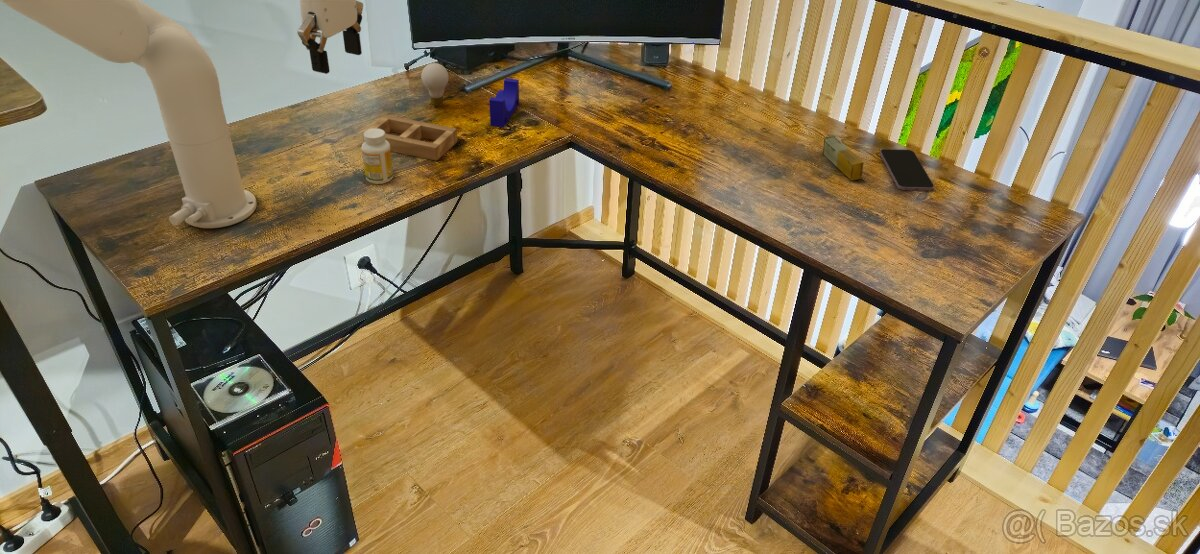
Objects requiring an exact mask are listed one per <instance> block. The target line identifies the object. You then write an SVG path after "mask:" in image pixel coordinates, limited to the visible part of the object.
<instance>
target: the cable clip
mask: <svg viewBox="0 0 1200 554" xmlns="http://www.w3.org/2000/svg"><path fill="white" fill-rule="evenodd" d="M519 80H520V79H517V78H508V77H505V78H504V80H503V89H498V91H497V93H496V95H495V97H492V96H491V97H490V98H489V99H488V101H489V103H488V105H489V123H490V127H491V126H492V127H497V128H498V127H499V128H505V126H506V125H507V124H508V122H509V120H510V119H511V117H512V116H513V115H514V113H515V111H516V110H517V108H519V105H520V84H519V82H520V81H519Z"/></svg>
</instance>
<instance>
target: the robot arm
mask: <svg viewBox="0 0 1200 554" xmlns="http://www.w3.org/2000/svg"><path fill="white" fill-rule="evenodd" d="M0 2H2V3H3V4H5V5H6V6H8V7H9V8H11V9H12V10H14V11H16V12H17V13H19V14H21V15H23V16H25V17H27V18H29V19H30V20H32V21H34V22H36V23H38V24H40V25H42V26H43V27H45V28H46V29H48V30H50V31H52V32H53V33H55V34H57V35H59V36H61V37H63V38H64V39H66V40H68V41H70V42H72V43H73V44H75V45H77V46H79V47H81V48H83V49H85V50H87V51H88V52H90V53H92V54H93V55H95V56H96V57H99V58H101V59H103V60H105V61H107V62H111V63H115V64H130V63H134V64H136V65H138V66H139V67H141V68H143V69H144V70H145V73H146V74H147V76H148V77H149V80H150V82H151V84H152V87H153V90H154V93H155V95H156V99H157V103H158V108H159V110H160V111H159V112H160V116H161V119H162V122H163V126H164V130H165V133H166V137H167V138H168V141H169V142H168V143H169V145H170V147H171V148H170V149H171V152H172V155H173V158H174V161H175V164H176V168H177V172H178V175H179V178H180V182H181V185H182V188H183V191H184V194H185V196H184V197H182V198H181V202H182V205H181V206H180V210H177V211H176V212H174V213H173V214H171V215H170V216H169V217H168V221H169V223H170V224H171V225H173V226H175V227H177V226H179V225H180V224H182V223H184V222H185V223H186V224H187V225H189V226H192V227H195V228H199V229H218V228H225V227H229V226H232V225H235V224H238V223H240V222H243V221H245V220H246V219H248V218H249V217H250V216H252V214H253V213H254V212H255V211H256V209H257V205H258V204H257V199H256V196H255V195H254V193H252V192H250V191H249V190H247V189H244V185H243V180H242V177H241V173H240V169H239V165H238V162H237V157H236V153H235V149H234V145H233V141H232V138H231V134H230V129H229V126H228V122H227V118H226V114H225V110H224V109H225V108H224V105H223V100H222V94H221V87H220V80H219V76H218V73H217V69H216V66H215V64H214V62H213V61H212V59H211V57H210V56H209V54H208V53H207V51H206V50H205V49H204V47H203V46H202V45H201V44H200V43H199V42H198V40H197V39H196V37H195V36H194V35H193V34H192V33H191V32H190V31H189V30H188V29H187V28H186V27H184V26H182V25H181V24H179V23H177V22H176V21H174V20H173V19H170V18H169V17H167V16H166V15H164V14H163V13H161V12H159V11H157V10H156V9H154V8H152V7H151V6H149V5H147V4H146V3H144V2H143V1H141V0H0ZM299 6H300V16H301V17H300V18H301V25H300V26H299V27H298V29H297V35H298V38H299V39H300V40H301V43H302V45H303V46H305V48H306V50H307V51H309V57H310V63H311V70H312V71H313V72H316V73H320V74H325V75H327V74H330V63H329V57H328V51H327V50H325V48H326V44H327V40H328V39H329V38H331V37H334V36H335V35H338V34H340V33H341V32H342V36H343V44H344V52H345V53H347V54H351V55H355V56H360V55H363V53H362V44H361V35H360V33H361V31H362V27H361V24H362V21H363V15H362V14H363V10H364V3H363V2H361V1H359V0H299ZM320 31H321V32H320ZM317 38H319V39H318V42H317V41H316V39H317Z"/></svg>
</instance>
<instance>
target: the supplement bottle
mask: <svg viewBox="0 0 1200 554" xmlns="http://www.w3.org/2000/svg"><path fill="white" fill-rule="evenodd" d="M365 130H366V131H365ZM365 130H364V131H365V132H364V131H363V132H364V133H363V132H362V137H363V136H364V139H363V142H362V144H361V148H360V149H361V154H362V160H363V169H364V176H365V180H366V181H367V182H369V183H370V184H375V185H382V184H386V183H390V182H391V180H393V179H394V174H395V173H394V167H393V165H394V164H393V158H392V151H391V148H390V144H389V142H388V141H387V140H385V139H386V136H385V131H384V130H382V129H377V128H374V129H369V130H367V129H365ZM364 141H365V142H364Z"/></svg>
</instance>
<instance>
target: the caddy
mask: <svg viewBox="0 0 1200 554" xmlns="http://www.w3.org/2000/svg"><path fill="white" fill-rule="evenodd" d="M374 128H377V129H382V130H384V131H385V136H386V139H385V140H387V141H388V142H389V144H390V148H391V153H398V154H401V155H407V156H410V157H411V156H412V157H417V158H421V159H426V160H431V161H434V162H437V161H438V160H440V159H441V158H442V157H443V156H444V155H445V154H446V153H447V152H449V150H451V149H452V148H453V146H455V145H456V144H457V143H458V142H459V139H458V129H457V128H455V127H450V126H445V125H441V124H435V123H431V122H425V121H420V120H414V119H410V118H405V117H400V116H395V115H394V116H393V115H389V114H384V115H383V116H382V117H381V118H380V119H378V120H376V121H375V123H373V124H372V125H370V126H369V127H368V128H367V129H365V130H364V131H362V134H363V133H364V132H365V131H366V130H369V129H374ZM390 133H396V134H400V135H395V134H390ZM362 138H363V143H364V142H365V141H364V136H363V135H362ZM422 139H424V140H422ZM425 140H430V141H433V142H429V141H425Z"/></svg>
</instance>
